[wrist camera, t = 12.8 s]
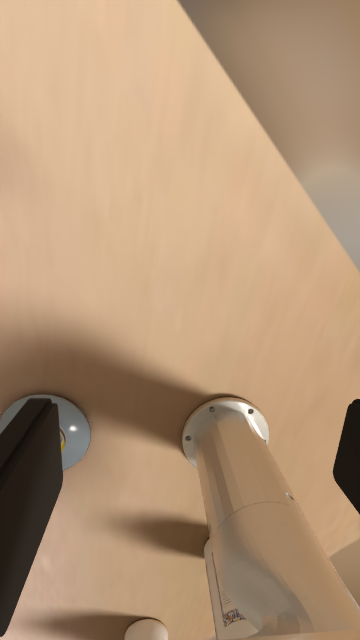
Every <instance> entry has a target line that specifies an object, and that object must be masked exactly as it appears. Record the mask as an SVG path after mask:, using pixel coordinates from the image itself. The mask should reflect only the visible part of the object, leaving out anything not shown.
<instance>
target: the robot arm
mask: <svg viewBox="0 0 360 640" xmlns="http://www.w3.org/2000/svg"><path fill="white" fill-rule="evenodd" d="M268 441H269V428H268V424H267V421H266V420H265V418H264V416H263V415H262V413H261V412H260V410H259V409H258V408H257V407H255V406H254V405H253V404H251V403H250V402H248V401H245V400H243V399H240V398H233V397H225V398H218V399H214V400H211V401H209V402H206V403H205V404H203V405H201V406H200V407H199V408H197V409H196V410H195V411H194V412H193V413H192V414H191V415H190V417H189V418H188V420H187V422H186V423H185V425H184V429H183V432H182V444H183V449H184V453H185V455H186V457H187V459H188V460H189V462H190V463H191V464H192V465H193V466H194V467H196V468H197V469H198V473H199V479H200V484H201V490H202V496H203V501H204V507H205V513H206V518H207V524H208V530H209V536H210V541H211V547H212V553H213V558H214V563H215V568H216V572H217V575H218V578H219V580H220V583H221V585H222V587H223V589H224V591H225V593H226V595H227V596H228V598H229V599H230V601H231V602H232V603H233V605H234V606H235V607H236V608H237V610H238V611H239V612H240V613H241V614H242V615H243V616H244V617H245V618H246V619H247V620H248V621H249V622H250V623H251V624H252V625H253V626H254V627H255V628H256V629H257V630H258V632H257V633H255V634H253V635H250V636H248V637H246V638H237V639H225V640H360V608H359V606H358V605H357V603H356V601H355V600H354V598H353V597H352V596H351V594H350V592H349V591H348V589H347V588H346V586H345V585H344V583H343V582H342V580H341V578H340V576H339V575H338V573H337V571H336V570H335V568H334V567H333V565H332V563H331V561H330V560H329V558H328V556H327V554H326V553H325V551H324V549H323V547H322V546H321V544H320V542H319V540H318V538H317V536H316V535H315V533H314V531H313V529H312V527H311V525H310V524H309V522H308V520H307V518H306V516H305V514H304V513H303V511H302V509H301V507H300V505H299V503H298V502H297V500H296V498H295V496H294V494H293V492H292V490H291V489H290V487H289V485H288V483H287V481H286V479H285V478H284V476H283V474H282V472H281V470H280V468H279V466H278V465H277V463H276V461H275V459H274V457H273V455H272V454H271V452H270V450H269V448H268V446H267V445H268ZM333 476H334V479H335V481H336V483H337V484H338V486H339V487H340V488H341V490H342V491H343V492H344V494H345V495H346V496H347V498H348V499H349V500H350V502H351V503H352V504H353V506H354V507H355V509H356V510H357V511H358V513H359V514H360V399H356V400H354V401H353V402H352V404H350V405H349V406H348V409H347V413H346V417H345V421H344V426H343V430H342V434H341V438H340V442H339V447H338V451H337V455H336V459H335V464H334V468H333ZM62 482H63V468H62V454H61V440H60V426H59V412H58V405H57V403H52V400H51V399H50V398H29V399H28V400H27V401H26V403H25V404H24V405H23V406H22V408H21V409H20V410H19V411H18V413H17V414H16V415H15V416H14V418H13V419H12V420H11V421H10V423H9V424H8V425H7V426H6V428H5V429H4V430H3V431H2V433H1V434H0V637H2V636H3V635H4V634H5V632H6V630H7V628H8V626H9V624H10V621H11V618H12V616H13V613H14V610H15V608H16V605H17V603H18V600H19V597H20V595H21V592H22V590H23V587H24V584H25V582H26V579H27V577H28V574H29V571H30V569H31V566H32V563H33V561H34V558H35V556H36V553H37V550H38V548H39V545H40V543H41V540H42V537H43V535H44V532H45V529H46V527H47V524H48V522H49V519H50V516H51V514H52V511H53V509H54V506H55V503H56V501H57V498H58V495H59V493H60V490H61V487H62Z"/></svg>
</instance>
